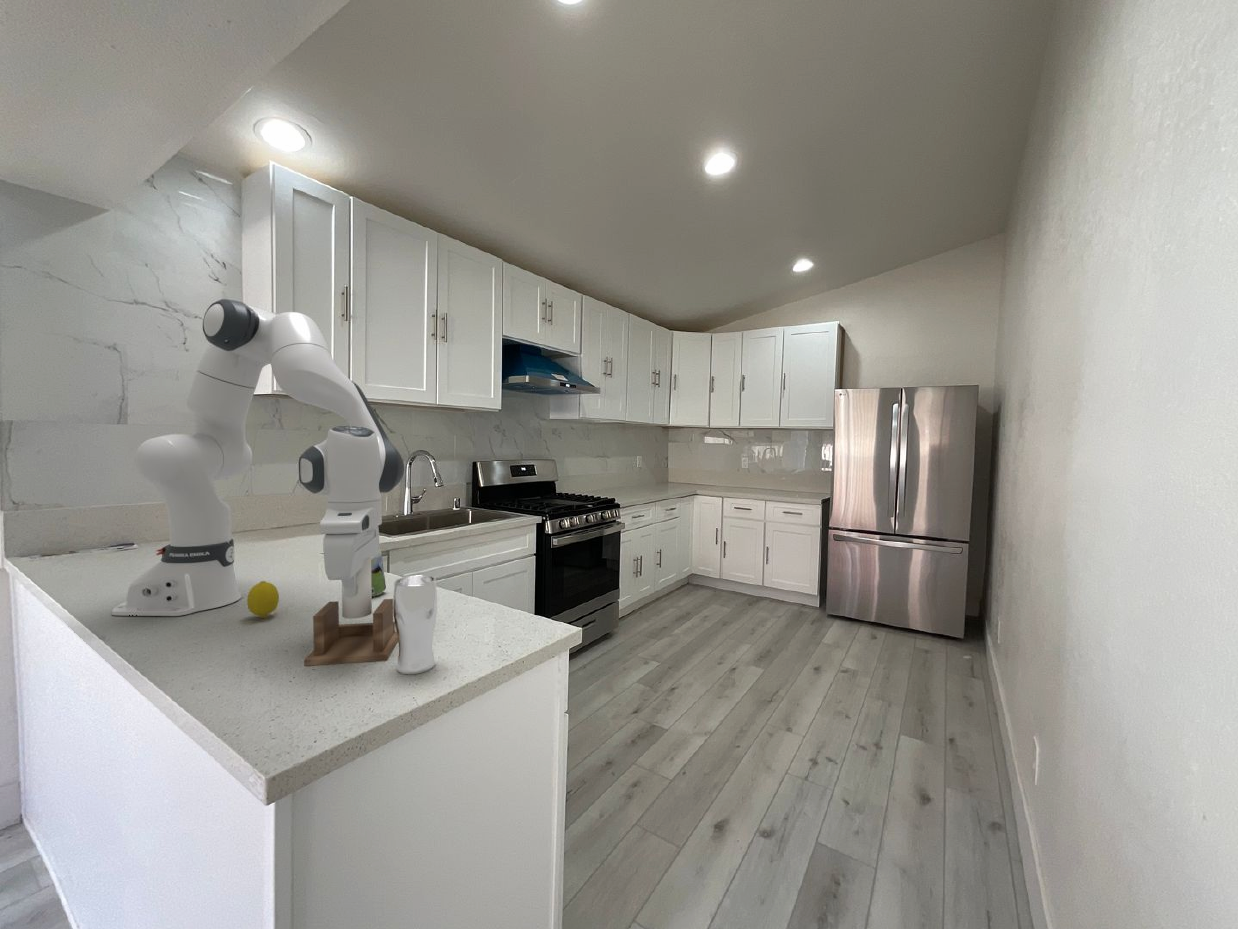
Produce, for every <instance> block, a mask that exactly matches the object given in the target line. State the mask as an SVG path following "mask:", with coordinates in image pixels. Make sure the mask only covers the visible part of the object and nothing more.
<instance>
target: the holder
mask: <svg viewBox="0 0 1238 929" xmlns="http://www.w3.org/2000/svg"><path fill="white" fill-rule="evenodd" d="M339 606H340V604H339V600H337V601H329V602H327V603H326V604H325V605H324V606H323V607H322V608H321V609H319V611H317V612H316V613H315V614H314V615H313V616H312V617H313V619H312V621H313V622H312V623H313V626H312V627H313V650H312V651H311V652H310V653H309V654H308V655H307V656H306V657H305V658H304V659H303V664H304V665H303V666H319V665H321V666H323V665H336V664H350V663H351V664H352V663H362V662H363V663H364V662H365V663H367V662H380V661H388V659H389V658H390V656H391V654H392V652H393V650H394V649H395V646H396V645H397V644H398V643H399V642H398V636H397V632H396V627H395V621H394V613H393V598H385V599H383V600H382V601H381V603H379V605H378V606H377V607H376V609H375V610H374V611H373V612H372V622H365V623H364V622H363V623H346V624H340V611H339V610H340V607H339Z"/></svg>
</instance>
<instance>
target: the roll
mask: <svg viewBox="0 0 1238 929" xmlns="http://www.w3.org/2000/svg"><path fill="white" fill-rule="evenodd" d="M356 585H358V593H357V595H356V596H355V597H349V598H347V597H345V595H344V586H343V583H342V582H341V605H342V606H341V609H342V611H341V612H342V614H341V615H342V617H343V618H344V619H347V620H348V619H350V620H353V619H360V618H365V617H368V616H371V614H373V608H372V606H373V604H372V603H373V601H372V598H373V597H372V590H371V558H368V559H367V560H366V561H365V562H364V566H363V568H362V569H360V570H359V571H358V572H357V577H356Z"/></svg>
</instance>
